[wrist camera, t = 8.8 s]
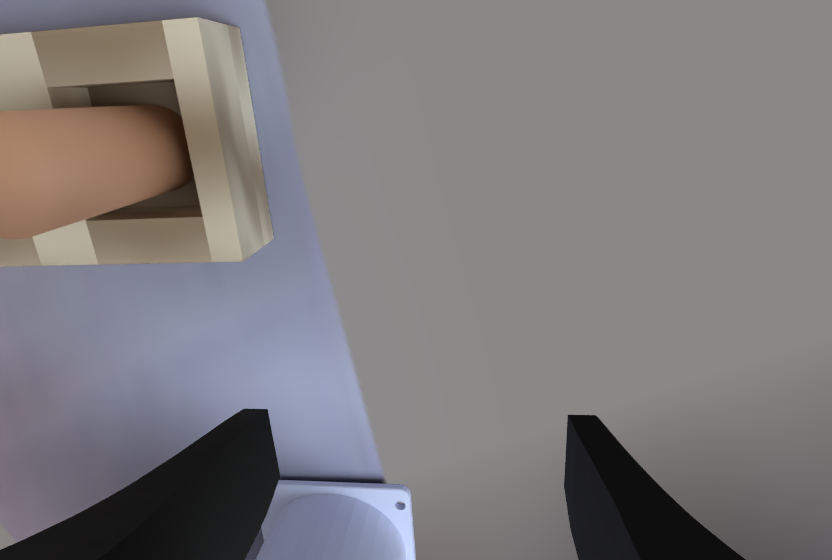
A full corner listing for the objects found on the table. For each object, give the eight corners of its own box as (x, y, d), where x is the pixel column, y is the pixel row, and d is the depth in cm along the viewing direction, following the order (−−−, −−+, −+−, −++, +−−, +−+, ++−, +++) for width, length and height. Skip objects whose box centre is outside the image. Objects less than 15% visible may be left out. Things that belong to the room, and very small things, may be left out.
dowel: (206, 190, 20) (71, 239, 13) (130, 191, 20) (-38, 239, 14) (190, 103, 19) (35, 110, 12) (110, 105, 19) (-82, 113, 13)
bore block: (273, 238, 21) (243, 261, 19) (-20, 246, 23) (-88, 268, 20) (239, 28, 19) (197, 17, 16) (-91, 55, 20) (-181, 50, 18)
